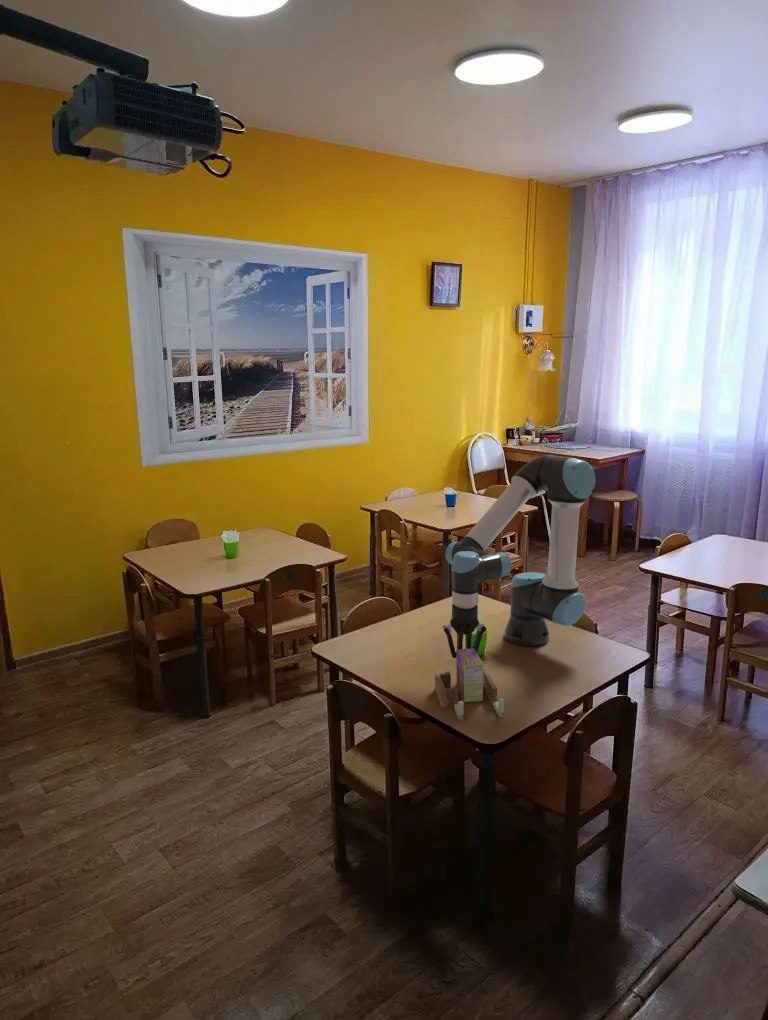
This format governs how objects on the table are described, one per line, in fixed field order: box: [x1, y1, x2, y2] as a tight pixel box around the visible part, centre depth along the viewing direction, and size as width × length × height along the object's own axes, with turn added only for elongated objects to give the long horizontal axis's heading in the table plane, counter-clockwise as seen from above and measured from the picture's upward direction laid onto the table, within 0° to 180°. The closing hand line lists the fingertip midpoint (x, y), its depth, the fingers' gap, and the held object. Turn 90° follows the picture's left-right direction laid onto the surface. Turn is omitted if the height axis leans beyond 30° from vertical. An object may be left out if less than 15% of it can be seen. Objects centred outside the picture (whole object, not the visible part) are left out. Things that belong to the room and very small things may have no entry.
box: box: [455, 648, 484, 703], centre depth 200 cm, size 10×6×12 cm, turn 6°
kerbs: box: [453, 698, 505, 721], centre depth 189 cm, size 12×6×5 cm, turn 96°
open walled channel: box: [434, 668, 498, 708], centre depth 199 cm, size 16×12×5 cm
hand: (463, 677), depth 207 cm, fingers closed
